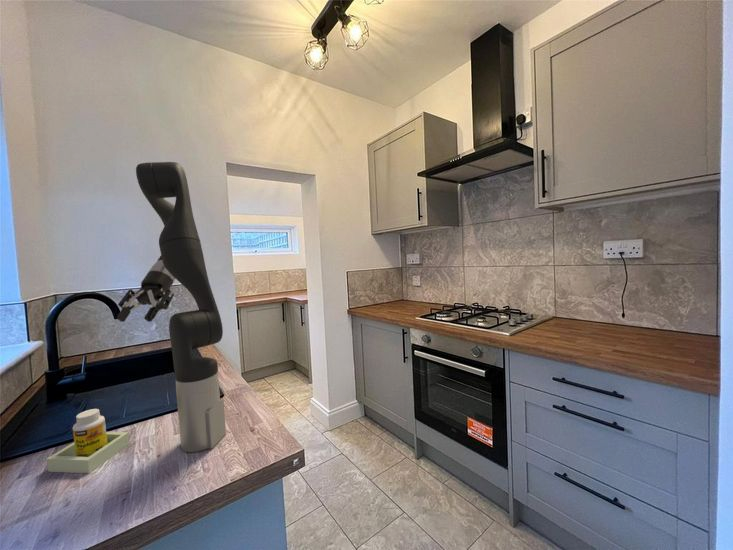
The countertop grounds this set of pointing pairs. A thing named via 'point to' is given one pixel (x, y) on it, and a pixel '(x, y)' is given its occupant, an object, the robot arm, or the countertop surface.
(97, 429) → the supplement bottle
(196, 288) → the robot arm
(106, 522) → the countertop surface
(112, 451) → the socket block
